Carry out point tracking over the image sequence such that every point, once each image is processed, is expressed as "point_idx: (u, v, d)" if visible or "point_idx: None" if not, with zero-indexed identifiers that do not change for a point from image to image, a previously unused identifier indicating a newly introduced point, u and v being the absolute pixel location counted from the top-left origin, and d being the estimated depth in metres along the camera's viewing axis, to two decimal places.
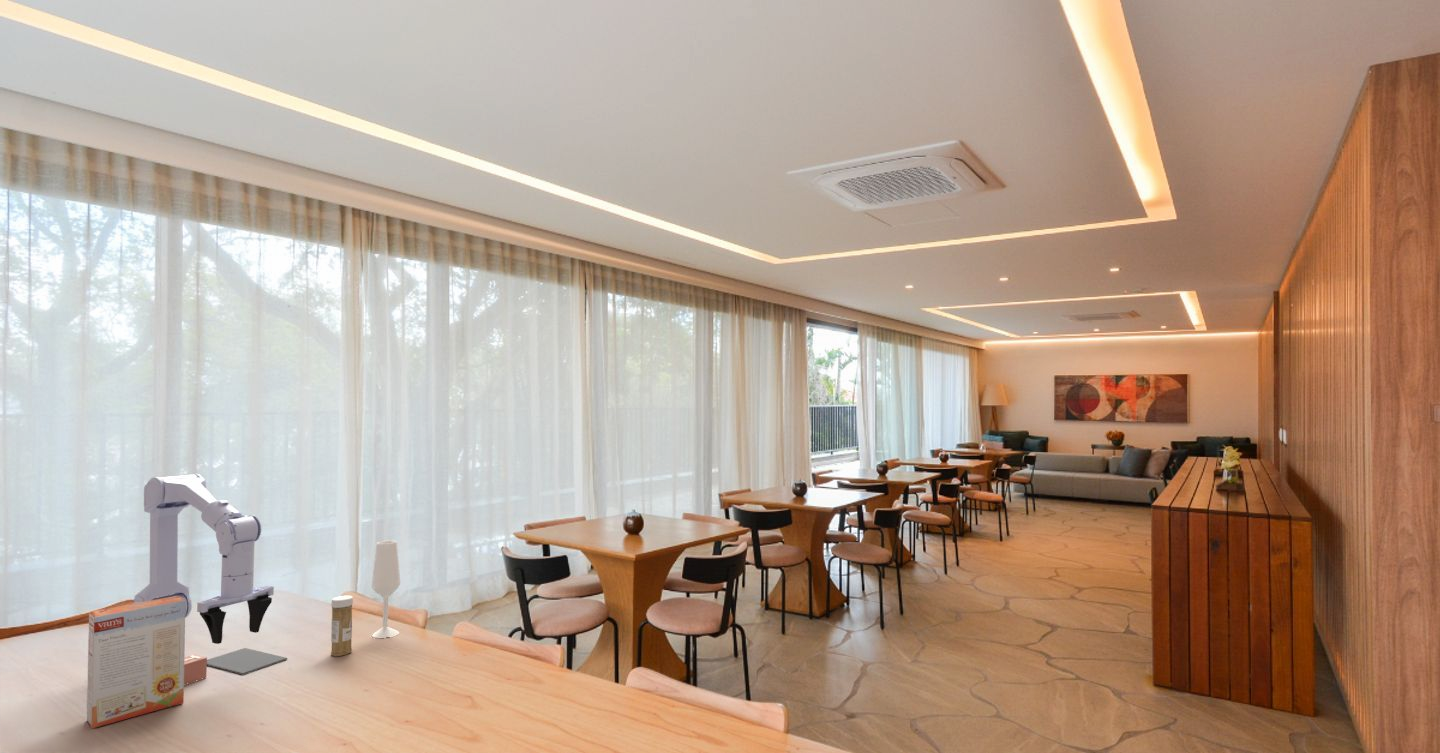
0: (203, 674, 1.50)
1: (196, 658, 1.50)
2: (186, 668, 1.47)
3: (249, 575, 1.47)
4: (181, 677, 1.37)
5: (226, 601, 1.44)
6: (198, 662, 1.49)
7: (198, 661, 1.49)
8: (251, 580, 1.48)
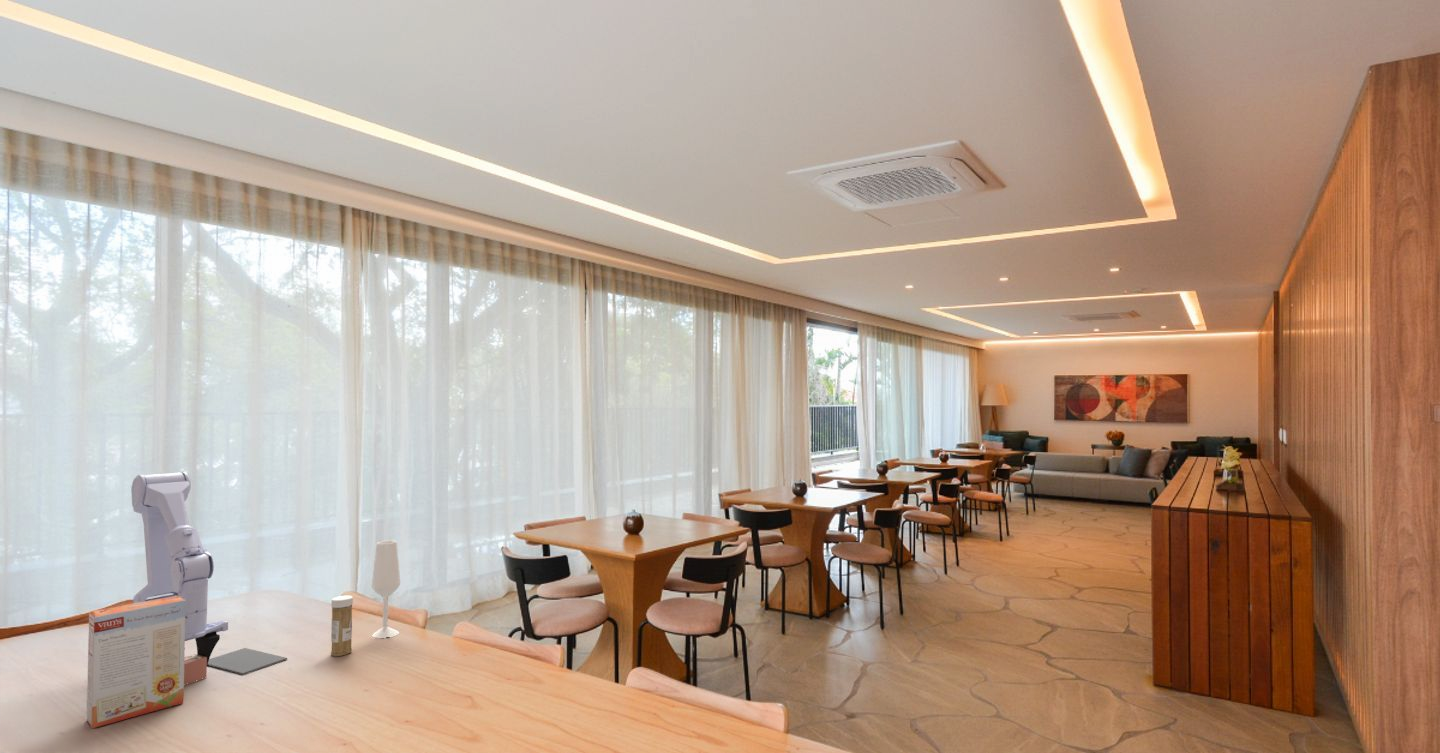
0: (203, 674, 1.50)
1: (196, 658, 1.50)
2: (186, 667, 1.47)
3: (202, 612, 1.50)
4: (181, 677, 1.37)
5: None
6: (198, 661, 1.49)
7: (198, 661, 1.49)
8: (204, 617, 1.50)
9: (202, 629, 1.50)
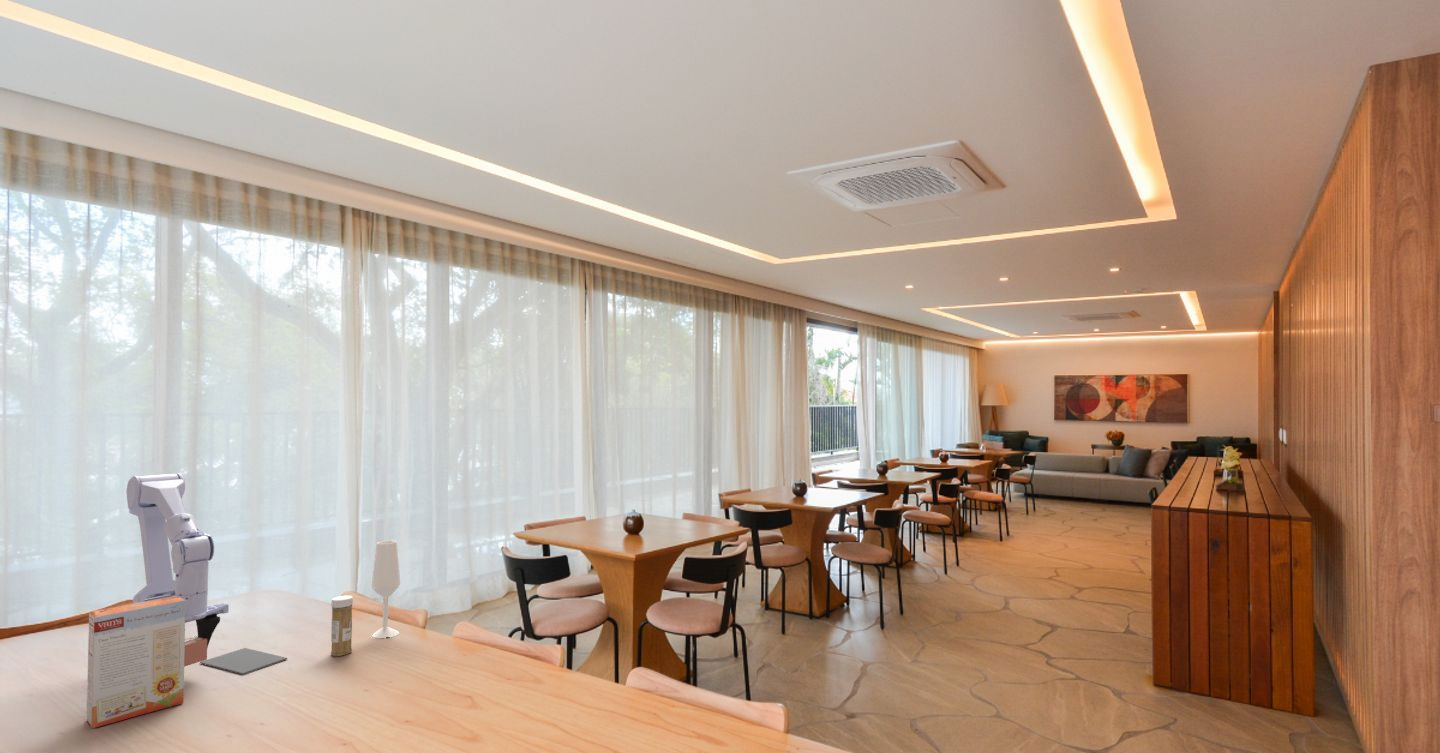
0: (203, 655, 1.50)
1: (197, 639, 1.50)
2: (187, 648, 1.47)
3: (202, 594, 1.50)
4: (181, 677, 1.37)
5: None
6: (199, 643, 1.49)
7: (199, 642, 1.49)
8: (205, 599, 1.50)
9: (202, 611, 1.50)
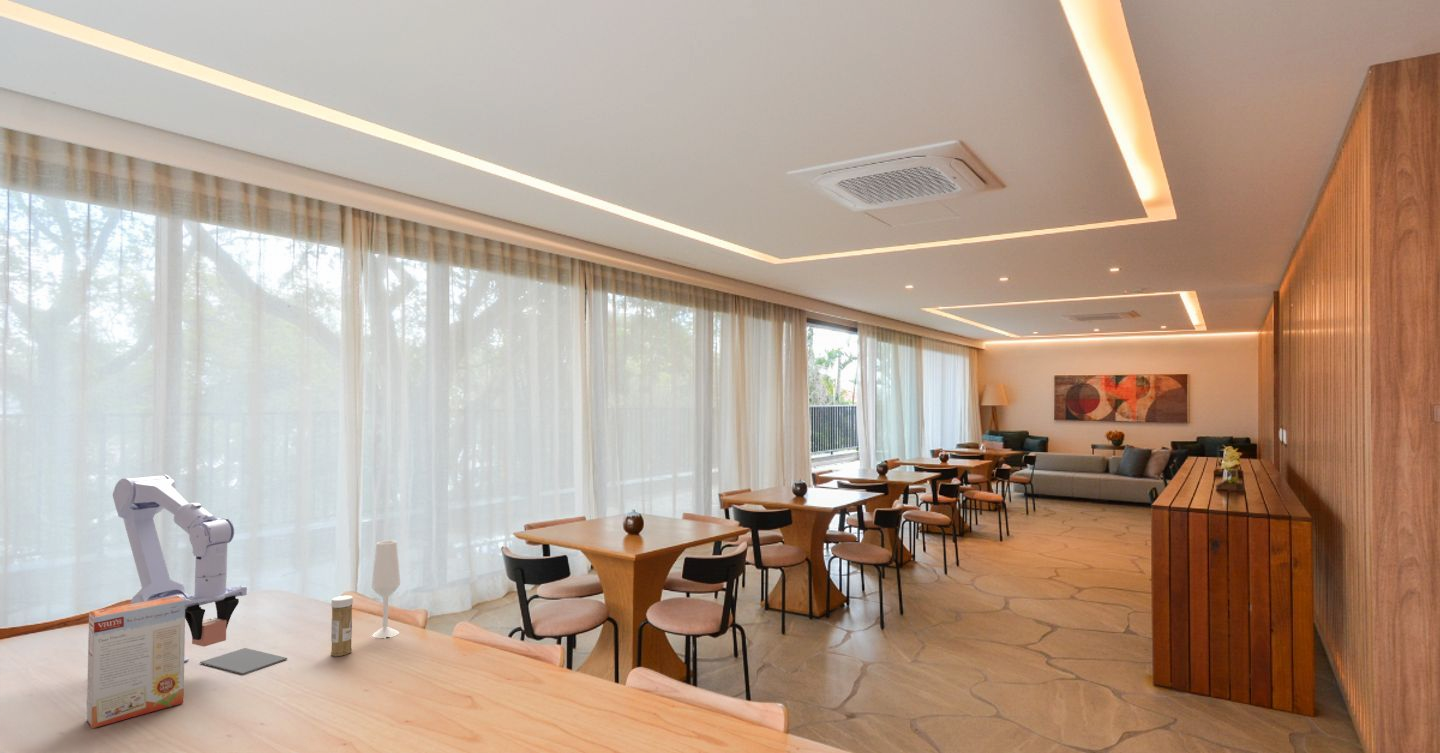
0: (223, 636, 1.54)
1: (216, 620, 1.54)
2: (207, 629, 1.51)
3: (222, 576, 1.53)
4: (181, 677, 1.37)
5: (199, 601, 1.50)
6: (218, 624, 1.53)
7: (218, 623, 1.53)
8: (224, 581, 1.54)
9: (222, 592, 1.53)
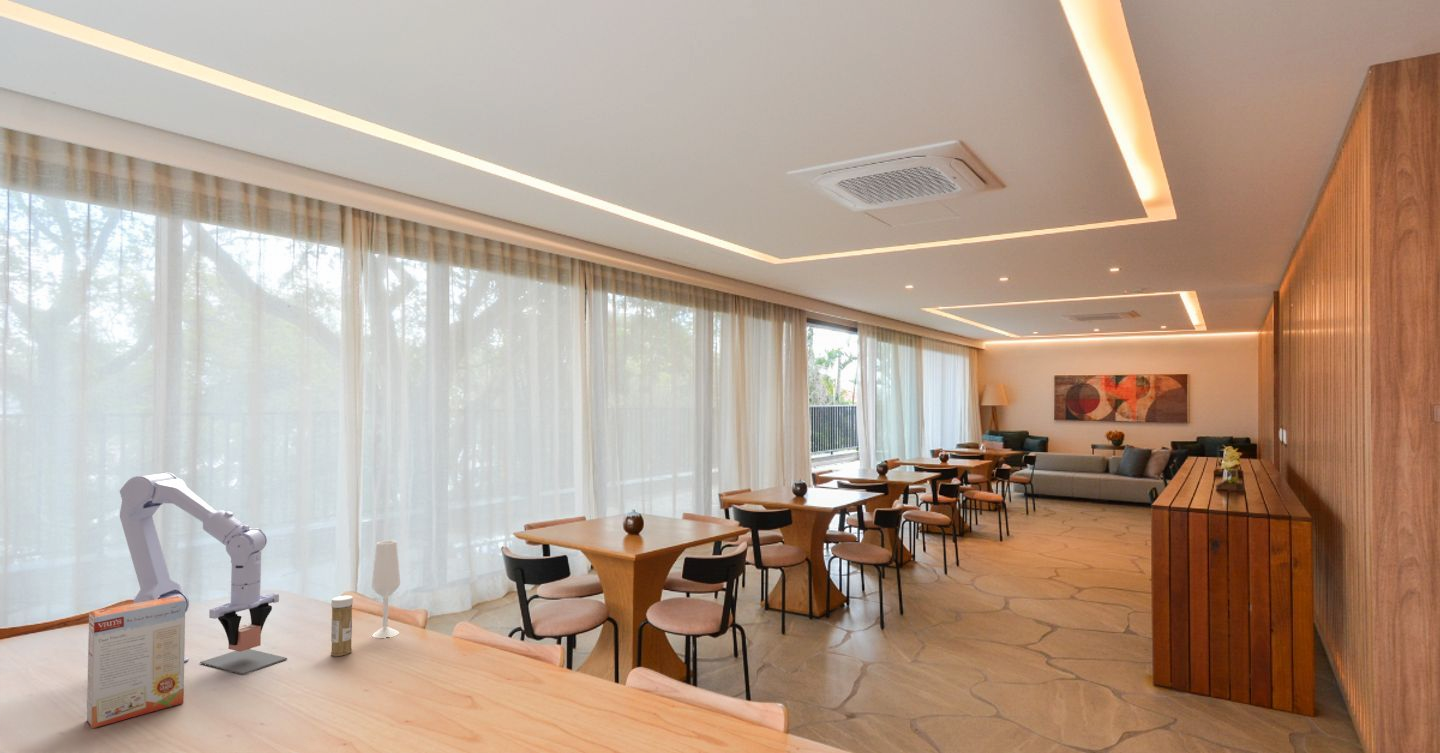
0: (258, 641, 1.60)
1: (251, 626, 1.60)
2: (243, 635, 1.58)
3: (256, 584, 1.60)
4: (181, 677, 1.37)
5: (235, 608, 1.56)
6: (253, 630, 1.60)
7: (253, 629, 1.60)
8: (258, 588, 1.61)
9: (256, 600, 1.60)
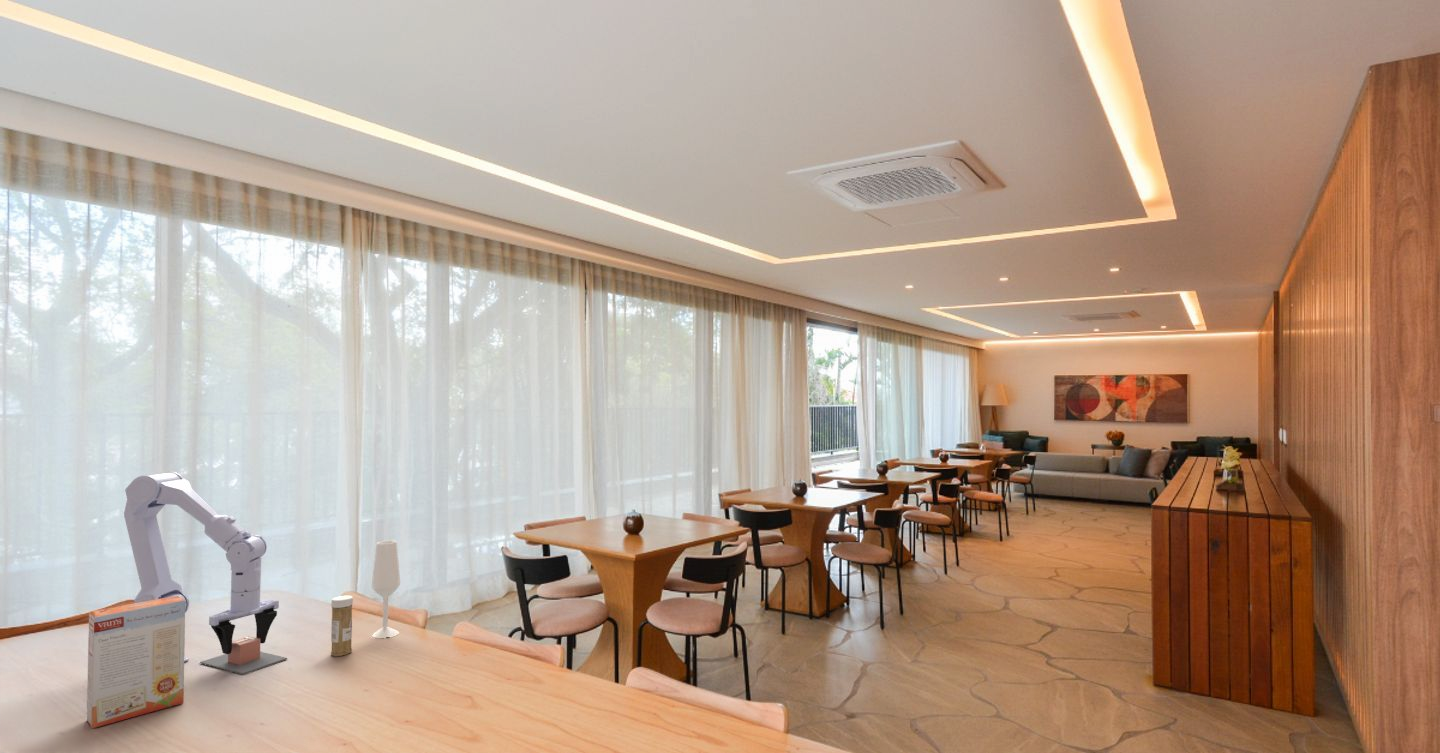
0: (257, 654, 1.60)
1: (250, 639, 1.60)
2: (243, 648, 1.57)
3: (256, 591, 1.60)
4: (181, 677, 1.37)
5: (235, 615, 1.56)
6: (253, 642, 1.60)
7: (253, 642, 1.60)
8: (258, 595, 1.61)
9: (256, 606, 1.60)
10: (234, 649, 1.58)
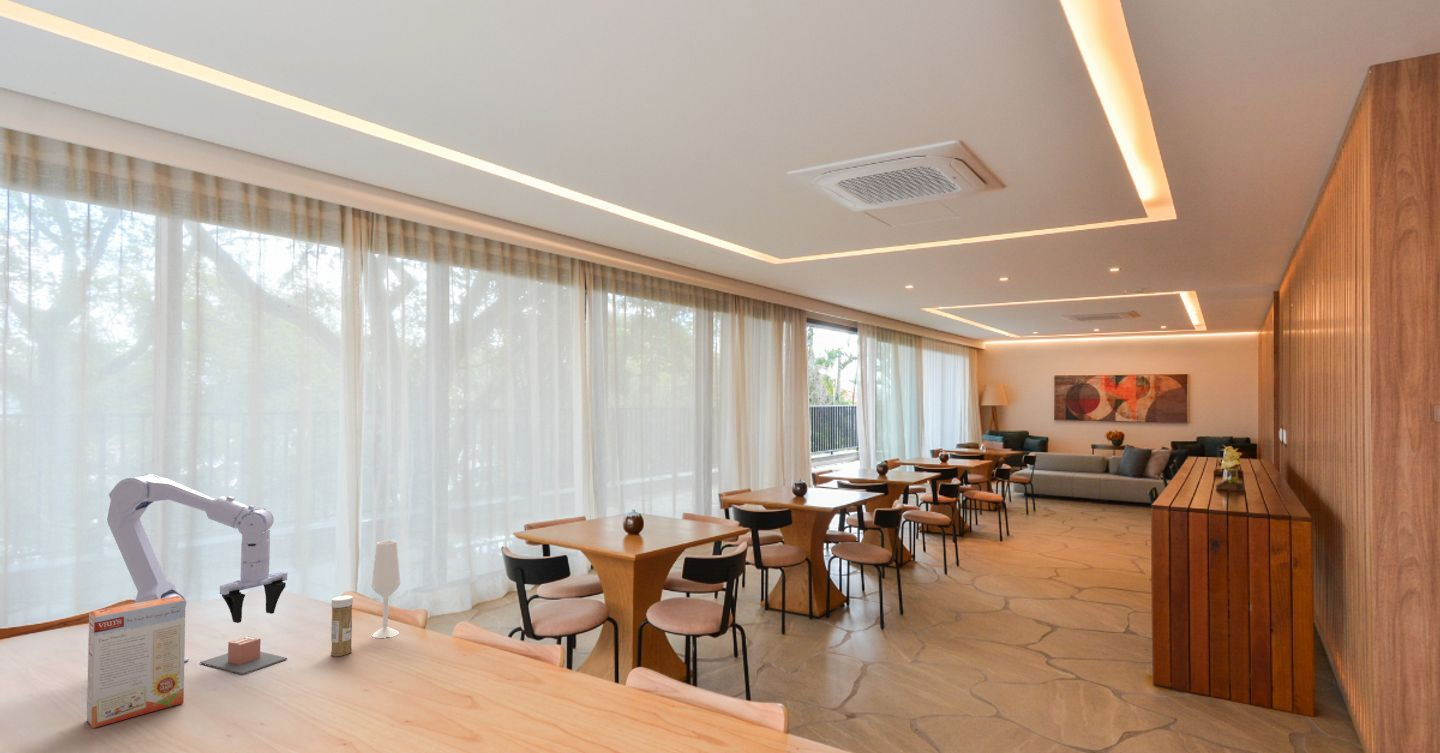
0: (257, 654, 1.60)
1: (250, 639, 1.60)
2: (243, 648, 1.57)
3: (265, 562, 1.64)
4: (181, 677, 1.37)
5: (245, 585, 1.61)
6: (253, 642, 1.60)
7: (253, 642, 1.60)
8: (267, 566, 1.65)
9: (265, 577, 1.64)
10: (234, 649, 1.58)
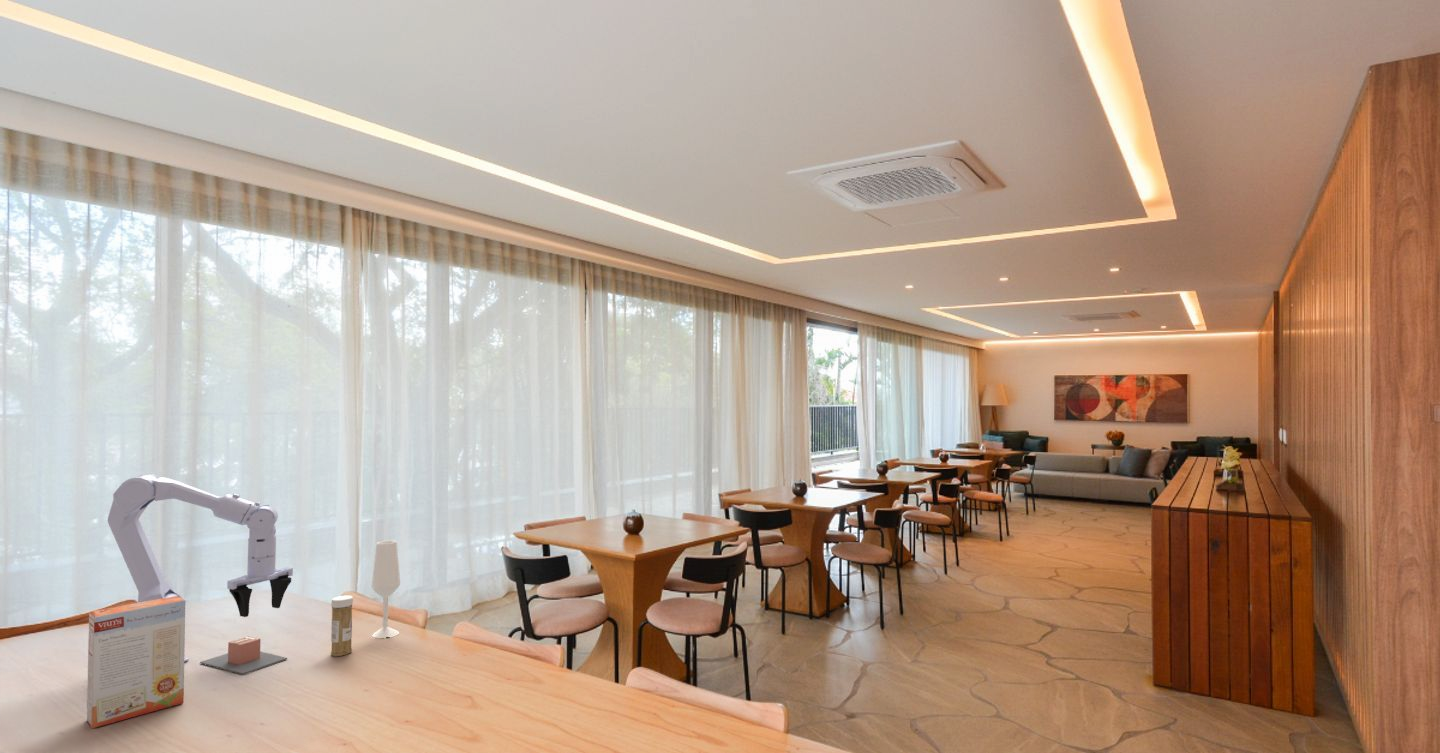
0: (257, 654, 1.60)
1: (250, 639, 1.60)
2: (243, 648, 1.57)
3: (272, 557, 1.67)
4: (181, 677, 1.37)
5: (252, 579, 1.64)
6: (253, 642, 1.60)
7: (253, 642, 1.60)
8: (273, 562, 1.68)
9: (272, 572, 1.67)
10: (234, 649, 1.58)
